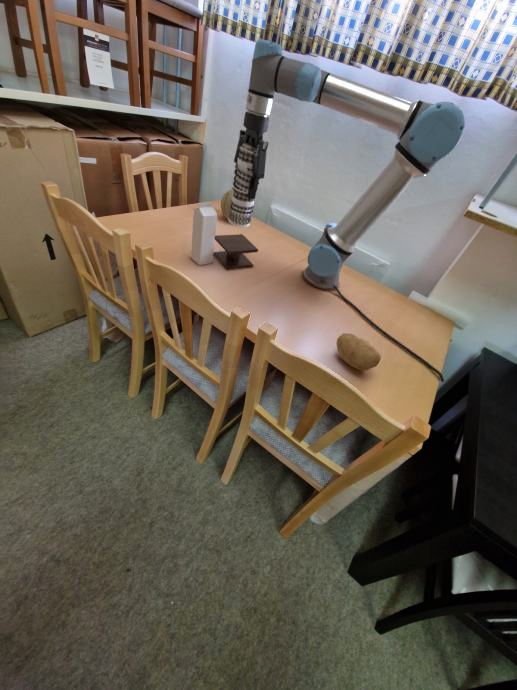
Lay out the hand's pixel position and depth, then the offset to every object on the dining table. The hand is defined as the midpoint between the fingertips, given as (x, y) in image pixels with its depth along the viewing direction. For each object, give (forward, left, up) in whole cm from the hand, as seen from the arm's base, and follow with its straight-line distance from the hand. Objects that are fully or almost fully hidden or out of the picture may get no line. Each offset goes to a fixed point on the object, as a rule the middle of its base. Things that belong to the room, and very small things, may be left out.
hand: (244, 193), depth 103 cm
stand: (0, 0, -26) cm, 26 cm away
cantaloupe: (+37, -20, -27) cm, 50 cm away
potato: (-63, -8, -27) cm, 69 cm away
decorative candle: (0, 0, -11) cm, 11 cm away
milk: (+2, +13, -27) cm, 30 cm away
